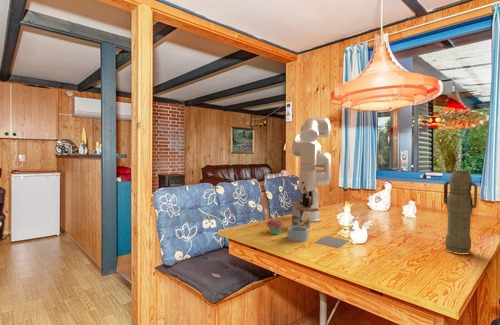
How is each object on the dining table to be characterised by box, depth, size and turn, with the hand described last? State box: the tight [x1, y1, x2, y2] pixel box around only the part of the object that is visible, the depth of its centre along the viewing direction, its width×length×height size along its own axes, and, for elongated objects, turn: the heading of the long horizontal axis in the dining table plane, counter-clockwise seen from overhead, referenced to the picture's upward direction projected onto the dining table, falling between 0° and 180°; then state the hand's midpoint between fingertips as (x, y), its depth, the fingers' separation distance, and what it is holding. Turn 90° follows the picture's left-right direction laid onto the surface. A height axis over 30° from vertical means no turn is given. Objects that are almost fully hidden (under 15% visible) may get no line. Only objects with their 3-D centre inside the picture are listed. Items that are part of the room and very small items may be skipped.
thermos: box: [443, 170, 478, 253], centre depth 125 cm, size 9×12×35 cm
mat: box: [313, 235, 350, 249], centre depth 136 cm, size 14×12×1 cm
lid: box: [296, 196, 320, 212], centre depth 139 cm, size 11×11×6 cm
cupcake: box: [266, 212, 284, 235], centre depth 150 cm, size 9×8×12 cm
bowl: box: [287, 226, 309, 242], centre depth 141 cm, size 10×10×5 cm
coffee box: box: [291, 198, 311, 230], centre depth 160 cm, size 9×6×16 cm
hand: (307, 204), depth 139 cm, fingers closed on lid, 3 cm apart
